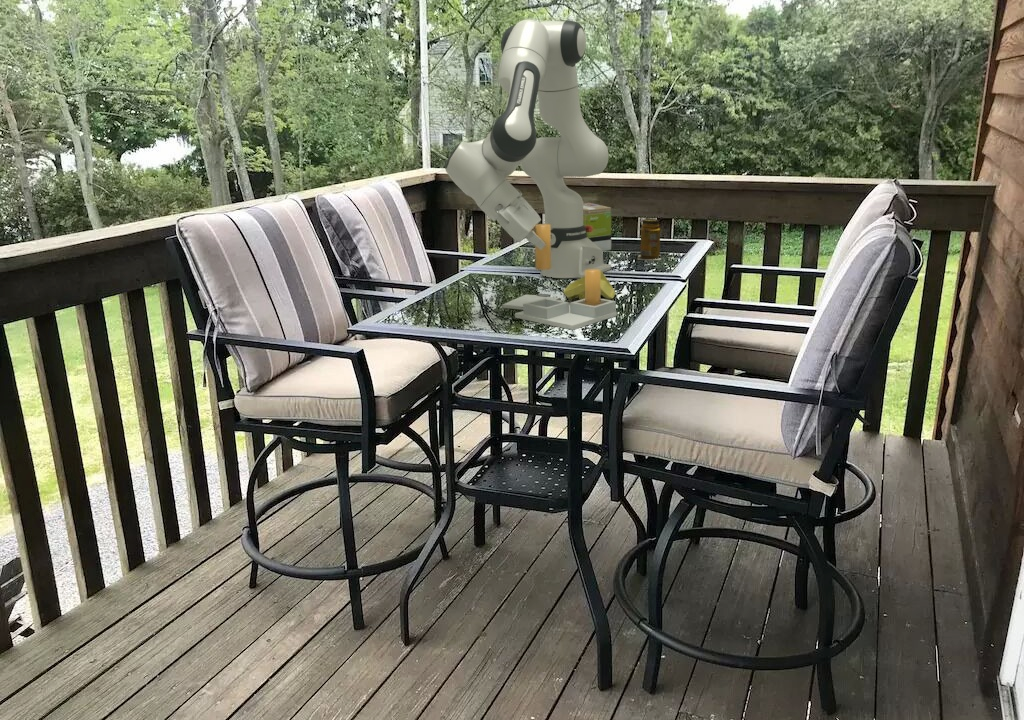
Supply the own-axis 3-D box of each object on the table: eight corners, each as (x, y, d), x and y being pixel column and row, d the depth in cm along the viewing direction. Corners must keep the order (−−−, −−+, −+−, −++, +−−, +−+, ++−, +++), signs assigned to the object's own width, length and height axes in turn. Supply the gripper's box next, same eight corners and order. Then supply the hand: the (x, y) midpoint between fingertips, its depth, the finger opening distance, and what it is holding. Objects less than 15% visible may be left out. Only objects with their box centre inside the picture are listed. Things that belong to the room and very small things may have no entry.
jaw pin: (542, 266, 192) (542, 223, 189) (554, 267, 189) (553, 224, 186) (532, 268, 190) (531, 225, 186) (543, 270, 187) (543, 226, 184)
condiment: (661, 255, 264) (662, 218, 260) (660, 260, 256) (661, 222, 252) (638, 255, 265) (638, 218, 261) (637, 260, 257) (637, 222, 253)
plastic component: (570, 283, 218) (603, 267, 215) (582, 308, 219) (616, 292, 216) (560, 294, 199) (597, 277, 196) (573, 321, 200) (610, 304, 197)
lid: (528, 296, 215) (528, 292, 214) (562, 299, 210) (562, 295, 209) (502, 307, 204) (502, 303, 203) (537, 311, 199) (537, 307, 198)
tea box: (564, 247, 285) (564, 204, 280) (589, 244, 288) (589, 202, 284) (586, 253, 271) (586, 208, 267) (612, 250, 275) (612, 206, 271)
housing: (559, 304, 205) (559, 261, 201) (616, 315, 192) (617, 269, 189) (515, 317, 194) (513, 271, 191) (572, 330, 182) (571, 281, 178)
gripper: (502, 198, 176) (548, 243, 177) (518, 187, 195) (560, 228, 196) (483, 219, 178) (529, 263, 179) (501, 206, 197) (542, 247, 198)
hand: (545, 245), depth 188 cm, fingers closed on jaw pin, 4 cm apart
